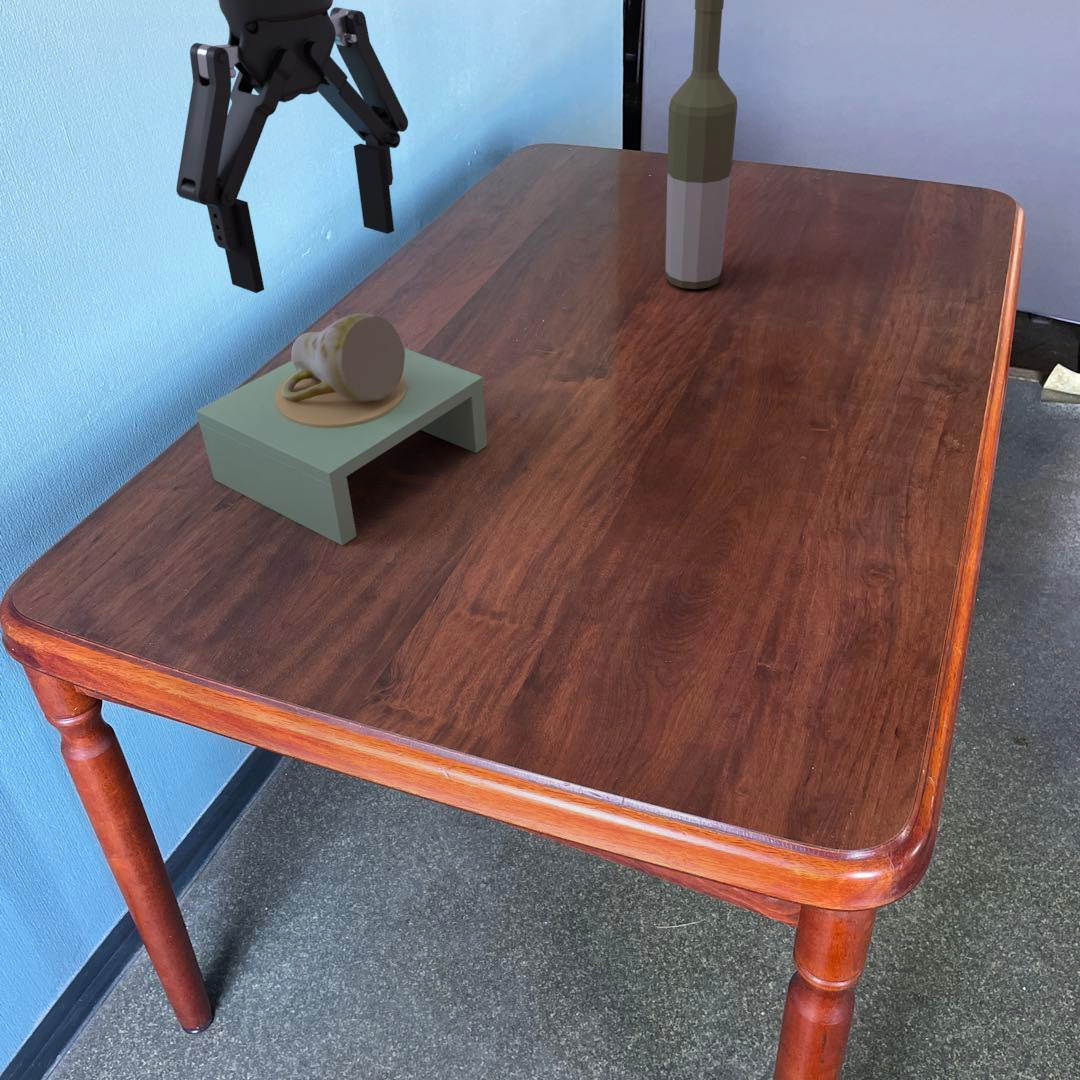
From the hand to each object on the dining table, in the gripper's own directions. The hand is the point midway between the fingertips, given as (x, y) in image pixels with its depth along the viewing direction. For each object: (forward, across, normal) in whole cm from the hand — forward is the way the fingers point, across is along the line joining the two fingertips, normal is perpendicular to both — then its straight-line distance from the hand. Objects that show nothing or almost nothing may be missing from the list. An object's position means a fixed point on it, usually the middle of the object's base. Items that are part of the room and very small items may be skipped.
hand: (317, 257), depth 83 cm
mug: (+12, 0, 0) cm, 12 cm away
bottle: (+19, +49, -5) cm, 53 cm away
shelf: (+19, 0, 0) cm, 19 cm away
